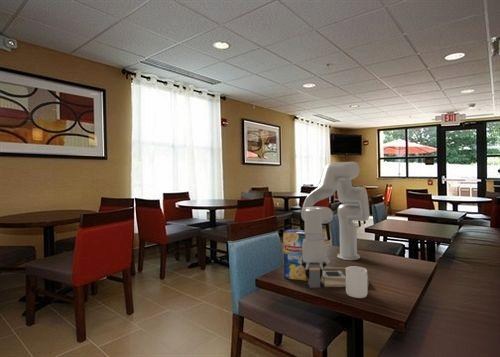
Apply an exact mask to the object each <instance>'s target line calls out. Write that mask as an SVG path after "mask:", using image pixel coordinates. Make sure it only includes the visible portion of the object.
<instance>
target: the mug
mask: <svg viewBox="0 0 500 357" xmlns="http://www.w3.org/2000/svg"><path fill="white" fill-rule="evenodd" d="M345 268H346V287H345V291H346V292H345V293H346V295H347V296H349V297H351V298H355V299H364V298H366V297H367V295H368V287H367V277H368V269H367V268H365V267H362V266H355V265H353V266H347V267H345Z"/></svg>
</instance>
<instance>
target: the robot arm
mask: <svg viewBox="0 0 500 357" xmlns="http://www.w3.org/2000/svg"><path fill="white" fill-rule="evenodd" d="M359 174H360V166H359V164H358V162H356V161H336V162H335V161H334V162H329V163H327V164H326V165H325V166H324V168H323V170H322V173H321V176H320V180H319V183H318V186H317V188H315V189H314V190H312V191H311V192H310V193H309V194H308V195H307V196H306V197H305V199H304V202H303V204H302V208H301V219H302V221H304V231H305V239H303V242H302V255H301V256H300V258H299V259H298V260H297V261H298V263H299V264H301V265H302V266H303V267H304V268H305V275H306V276H307V278H308V279H309V278H310V276H309V268H308V267H309V263H319V264H320V279H321V276H323V268H326V266H327V265H328V264H329V263H331V260H330V258H329V257H328V256H327V255H326V254H327V253H326V245H325V240H324V239H323V238H326V233H323V224H329V223H330V222H331V221H332V220H333V217H334V212H333V211H332V209H331V208H330V207H328V206H327V207H326V206H314V205H315V204H316V203H318V202H320V201H322V200H326V199H327V198H330V197H333V196H334V195H335V193H337V198H338V201H339V202H340V203H341V204H339V206H338V207H337V217H338V221H339V224H338V225H339V226H338V227H339V253H337V256H336V257H337V258H339V259H341V260H345V261H357V260H360V258H361V256H360V254H358V239H357V238H358V236H357V226H356V224H355V222H356V221H358V222H359V221H360V222H366V221H368V220H369V219H370V214H371V213H370V205H369V196H368V192H367V189H366V188H365V187H363V186H354V185H353V183H352V180H354V179H356V178H358V176H359ZM354 221H355V222H354ZM302 260H303V262H305V264H304V263H303V262H302ZM308 279H307V280H308Z"/></svg>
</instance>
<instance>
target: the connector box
mask: <svg viewBox="0 0 500 357" xmlns="http://www.w3.org/2000/svg"><path fill="white" fill-rule="evenodd" d="M320 282H321V284H322V285H323V286H324V288H346V267H324V268H323V276H321V279H320ZM369 283H370V282H369V276H367V288H369V286H370V284H369Z"/></svg>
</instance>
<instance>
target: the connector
mask: <svg viewBox="0 0 500 357" xmlns="http://www.w3.org/2000/svg"><path fill="white" fill-rule="evenodd" d="M308 268H309V276H310V278H309V279H307V285H308V287H309V288H312V289H313V288H321V280H320V264H319V263H309V267H308Z"/></svg>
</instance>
